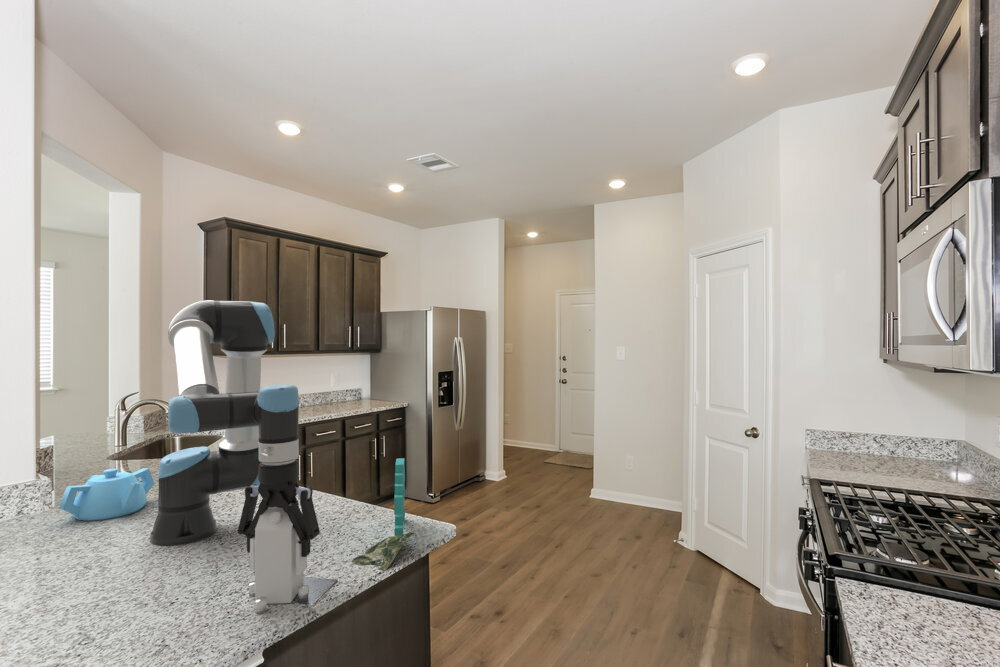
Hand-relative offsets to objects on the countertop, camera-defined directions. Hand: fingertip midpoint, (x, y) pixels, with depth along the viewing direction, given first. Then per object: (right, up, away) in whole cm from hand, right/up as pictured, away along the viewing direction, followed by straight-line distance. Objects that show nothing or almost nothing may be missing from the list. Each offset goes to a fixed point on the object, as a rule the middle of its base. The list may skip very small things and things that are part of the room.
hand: (278, 569), depth 98 cm
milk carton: (0, -6, +1) cm, 6 cm away
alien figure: (+18, -8, +36) cm, 40 cm away
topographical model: (+14, -8, +20) cm, 26 cm away
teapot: (-74, -8, +49) cm, 90 cm away
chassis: (0, -7, 0) cm, 7 cm away
